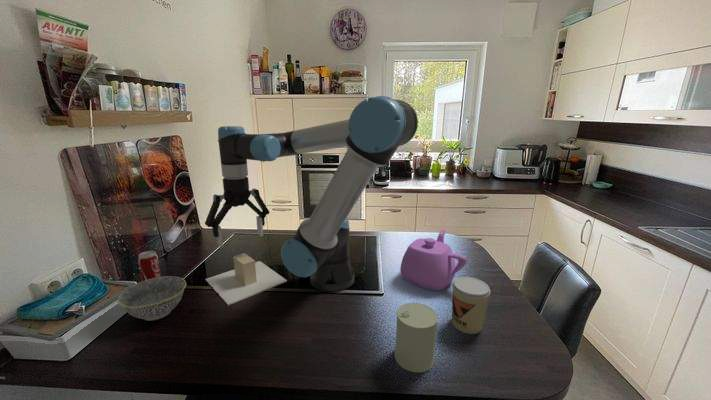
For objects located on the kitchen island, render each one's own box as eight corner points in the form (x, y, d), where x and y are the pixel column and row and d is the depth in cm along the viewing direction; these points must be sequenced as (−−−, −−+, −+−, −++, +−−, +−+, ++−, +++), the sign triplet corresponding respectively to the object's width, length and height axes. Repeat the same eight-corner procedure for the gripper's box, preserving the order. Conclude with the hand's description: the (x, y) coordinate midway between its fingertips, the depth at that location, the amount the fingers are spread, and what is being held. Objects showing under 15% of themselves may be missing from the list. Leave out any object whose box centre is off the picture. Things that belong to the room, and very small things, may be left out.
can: (390, 343, 74) (392, 301, 71) (427, 341, 75) (430, 299, 72) (399, 374, 65) (401, 327, 62) (440, 371, 66) (444, 325, 63)
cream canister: (441, 318, 83) (445, 280, 80) (467, 310, 87) (471, 273, 84) (465, 340, 75) (470, 298, 72) (493, 330, 79) (499, 290, 76)
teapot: (455, 303, 90) (459, 258, 86) (393, 282, 102) (395, 241, 98) (474, 273, 108) (479, 234, 104) (420, 258, 120) (423, 222, 116)
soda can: (153, 292, 95) (146, 257, 92) (139, 290, 96) (132, 256, 93) (166, 283, 100) (160, 250, 97) (153, 282, 101) (147, 249, 98)
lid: (286, 282, 102) (285, 259, 100) (228, 307, 89) (225, 280, 87) (259, 263, 116) (258, 241, 114) (205, 281, 103) (202, 257, 101)
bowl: (174, 291, 96) (170, 270, 94) (200, 309, 87) (196, 286, 85) (114, 317, 83) (108, 293, 81) (136, 341, 74) (130, 315, 72)
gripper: (266, 171, 104) (270, 228, 110) (188, 180, 87) (197, 246, 93) (277, 174, 99) (280, 233, 104) (196, 184, 82) (205, 254, 88)
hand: (241, 240), depth 99 cm, fingers open, 13 cm apart
